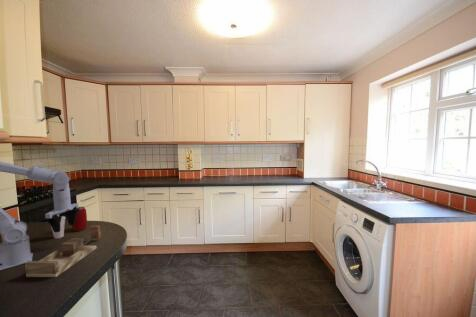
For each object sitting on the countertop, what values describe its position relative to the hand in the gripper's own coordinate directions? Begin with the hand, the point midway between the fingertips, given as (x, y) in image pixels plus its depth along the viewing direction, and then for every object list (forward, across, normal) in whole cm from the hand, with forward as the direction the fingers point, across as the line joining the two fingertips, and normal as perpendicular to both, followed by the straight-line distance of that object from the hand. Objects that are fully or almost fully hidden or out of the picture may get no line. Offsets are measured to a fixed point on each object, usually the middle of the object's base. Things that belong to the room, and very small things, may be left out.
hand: (64, 228), depth 93 cm
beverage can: (+10, +20, +11) cm, 25 cm away
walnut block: (+8, 0, -8) cm, 12 cm away
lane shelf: (+9, -10, -8) cm, 16 cm away
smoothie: (+10, +11, +14) cm, 20 cm away
